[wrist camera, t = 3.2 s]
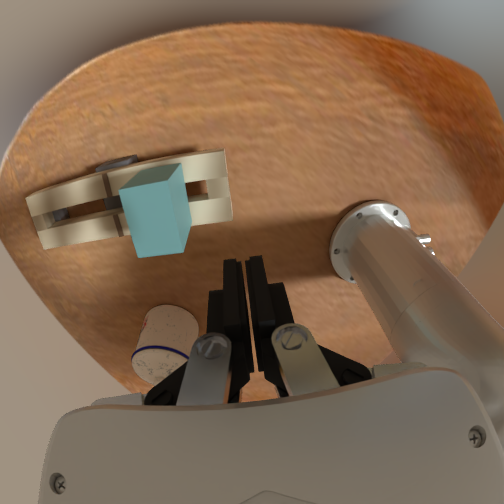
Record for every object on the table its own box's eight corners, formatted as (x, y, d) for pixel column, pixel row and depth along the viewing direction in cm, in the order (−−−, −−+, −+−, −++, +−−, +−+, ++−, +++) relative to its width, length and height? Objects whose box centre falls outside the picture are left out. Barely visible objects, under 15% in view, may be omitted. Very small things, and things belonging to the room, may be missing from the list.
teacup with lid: (136, 302, 38) (116, 364, 28) (195, 301, 39) (188, 367, 29) (156, 353, 44) (145, 410, 34) (206, 353, 45) (204, 412, 35)
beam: (224, 139, 28) (223, 145, 23) (232, 206, 32) (233, 225, 27) (45, 180, 27) (23, 194, 23) (62, 234, 31) (45, 253, 27)
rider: (184, 158, 25) (167, 180, 19) (194, 214, 28) (183, 252, 22) (146, 166, 25) (118, 190, 19) (158, 219, 28) (138, 258, 22)
